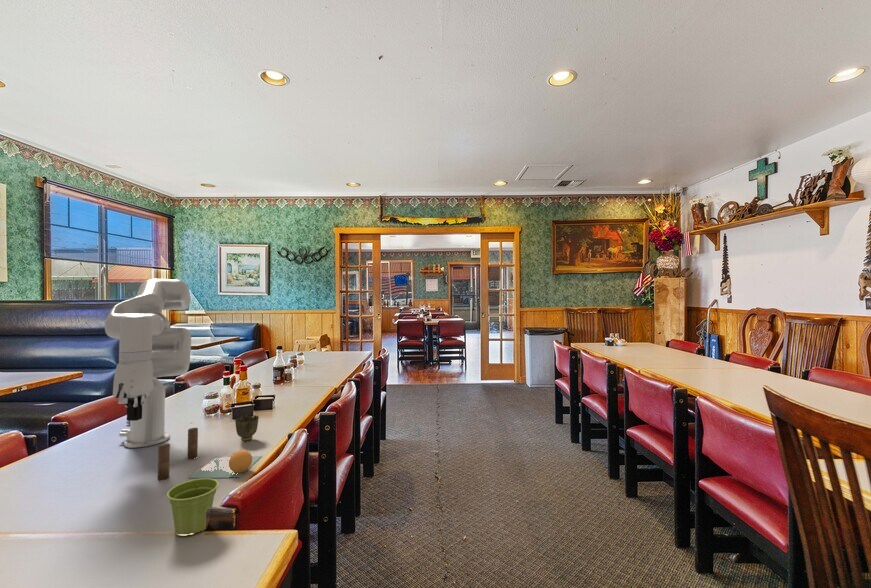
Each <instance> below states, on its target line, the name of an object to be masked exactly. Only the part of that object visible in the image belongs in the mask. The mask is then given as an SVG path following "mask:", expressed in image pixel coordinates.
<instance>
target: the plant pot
mask: <svg viewBox="0 0 871 588" xmlns="http://www.w3.org/2000/svg"><path fill="white" fill-rule="evenodd" d="M219 483H220V482H219V481H218V480H217V479H216V478H194V479H191V480H187V481H184V482H181V483H180V484H177V485H175V486H173V487H172V488H170V489H168V491H167V492H166V498H167V499H168V500H169V503H170V506H171V511H172V519H173V525H174V526H173V527H174V532H175V534H176V533H177V534H190V533H195V532H197V533H201V532H200V531H202V532H203V531H205V530H206V529H207V528H206V511H207V510H208V509H209V508H213V503H214V499H215V494H216V492H217V489H218V487H219ZM177 534H176V535H177ZM195 534H196V533H195Z"/></svg>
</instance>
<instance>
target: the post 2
mask: <svg viewBox="0 0 871 588" xmlns="http://www.w3.org/2000/svg"><path fill="white" fill-rule="evenodd" d="M198 441H199V428H198V427H192V428H188V429H187V458H188V459H193V460H195V459H194V458H196V457H197V458H198V454H199V453H198V447H199V444H198V443H199V442H198ZM197 458H196V459H197ZM188 459H187V460H188Z"/></svg>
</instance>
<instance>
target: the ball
mask: <svg viewBox="0 0 871 588" xmlns="http://www.w3.org/2000/svg"><path fill="white" fill-rule="evenodd" d="M230 457H231V458H230V460H229V467H230V469H231V470H232V471H233V472H235V473H242V472H244V471H246V470H247V469H248V468H249V467H250V466H251V464H252V454H251V452H249V451H248V450H244V449H240V450H236V451H235V452H234V453H233V454H232V455H231V456H230ZM246 472H247V471H246Z"/></svg>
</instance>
